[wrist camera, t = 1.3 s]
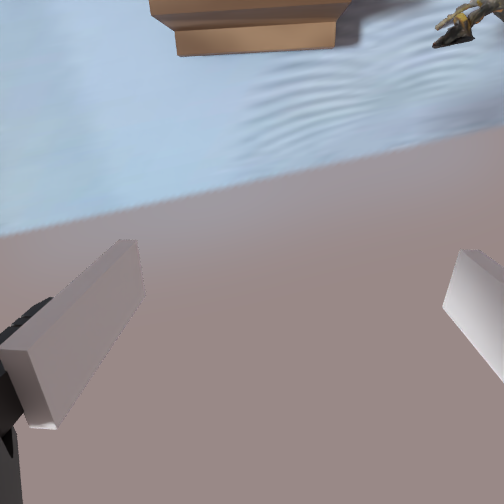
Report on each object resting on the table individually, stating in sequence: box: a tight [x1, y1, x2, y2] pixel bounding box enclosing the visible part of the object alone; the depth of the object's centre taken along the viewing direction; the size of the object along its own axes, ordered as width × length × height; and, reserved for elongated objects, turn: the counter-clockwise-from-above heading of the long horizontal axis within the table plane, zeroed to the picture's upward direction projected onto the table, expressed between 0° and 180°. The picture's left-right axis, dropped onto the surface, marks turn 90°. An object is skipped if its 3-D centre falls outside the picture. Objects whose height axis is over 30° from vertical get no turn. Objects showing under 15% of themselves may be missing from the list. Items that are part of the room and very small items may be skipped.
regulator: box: [432, 0, 504, 48], centre depth 23 cm, size 8×4×15 cm, turn 128°
